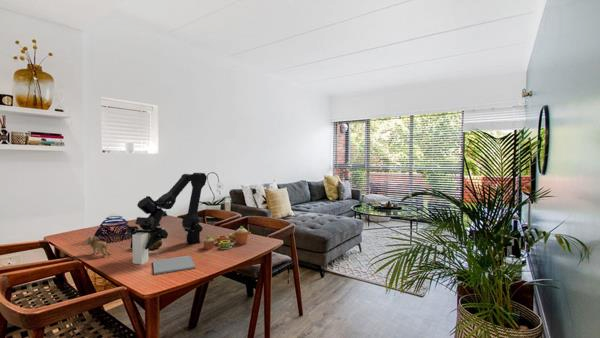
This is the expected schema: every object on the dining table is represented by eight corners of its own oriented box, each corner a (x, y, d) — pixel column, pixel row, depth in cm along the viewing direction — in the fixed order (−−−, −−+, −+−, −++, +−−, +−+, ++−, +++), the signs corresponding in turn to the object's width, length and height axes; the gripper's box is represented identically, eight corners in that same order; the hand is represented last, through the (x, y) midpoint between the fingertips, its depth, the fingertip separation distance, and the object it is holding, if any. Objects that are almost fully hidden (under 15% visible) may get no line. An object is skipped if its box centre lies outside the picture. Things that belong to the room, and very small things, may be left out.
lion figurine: (83, 254, 146) (83, 236, 146) (94, 251, 151) (94, 233, 151) (105, 258, 142) (105, 239, 141) (116, 254, 147) (115, 236, 146)
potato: (148, 251, 151) (148, 236, 151) (135, 247, 158) (135, 232, 158) (164, 247, 158) (164, 232, 158) (150, 243, 165) (150, 229, 165)
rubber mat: (190, 257, 144) (190, 255, 144) (195, 268, 130) (195, 266, 130) (153, 262, 136) (153, 260, 136) (154, 274, 122) (154, 272, 122)
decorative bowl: (111, 233, 187) (110, 210, 187) (141, 234, 185) (140, 211, 184) (84, 242, 167) (84, 216, 167) (118, 243, 165) (117, 217, 165)
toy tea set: (234, 237, 180) (234, 221, 179) (253, 241, 171) (253, 225, 171) (197, 248, 158) (197, 230, 158) (217, 254, 149) (217, 235, 149)
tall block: (139, 260, 139) (139, 232, 139) (148, 260, 139) (148, 232, 138) (132, 263, 135) (132, 234, 134) (141, 264, 134) (141, 235, 134)
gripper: (128, 209, 141) (110, 238, 131) (163, 210, 138) (148, 240, 128) (140, 221, 149) (124, 250, 139) (174, 223, 146) (160, 253, 136)
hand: (138, 248), depth 135 cm, fingers open, 7 cm apart
